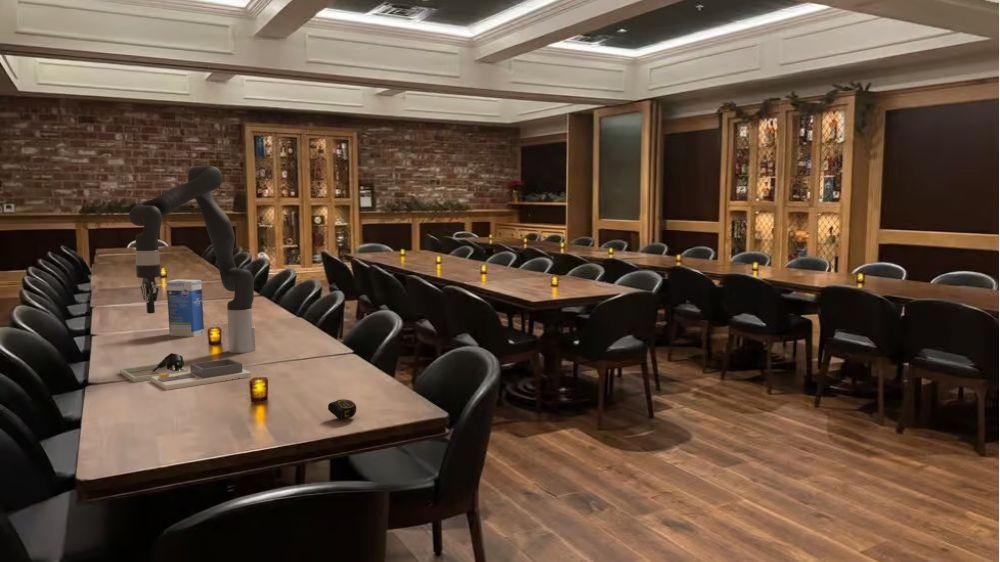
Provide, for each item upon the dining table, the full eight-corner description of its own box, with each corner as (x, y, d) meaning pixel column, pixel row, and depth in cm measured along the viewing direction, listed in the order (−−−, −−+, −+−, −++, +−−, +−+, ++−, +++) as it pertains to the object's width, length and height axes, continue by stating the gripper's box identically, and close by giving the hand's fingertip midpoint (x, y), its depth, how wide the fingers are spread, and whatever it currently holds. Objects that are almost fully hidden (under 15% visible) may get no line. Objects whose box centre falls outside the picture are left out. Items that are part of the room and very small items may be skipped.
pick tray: (172, 366, 270) (171, 362, 270) (188, 374, 257) (188, 370, 257) (119, 373, 259) (119, 369, 259) (133, 382, 246) (133, 377, 245)
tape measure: (326, 412, 205) (327, 400, 204) (348, 409, 209) (349, 397, 209) (337, 423, 200) (338, 410, 199) (359, 419, 204) (360, 406, 203)
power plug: (158, 371, 263) (185, 353, 262) (162, 388, 259) (189, 369, 258) (146, 366, 259) (173, 347, 258) (150, 383, 254) (177, 364, 253)
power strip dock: (233, 368, 265) (233, 356, 265) (251, 376, 253) (250, 363, 253) (151, 381, 247) (150, 368, 247) (166, 390, 235) (165, 376, 235)
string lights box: (204, 336, 332) (202, 279, 329) (193, 339, 324) (191, 281, 322) (180, 335, 335) (177, 279, 333) (168, 338, 328) (165, 280, 325)
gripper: (165, 264, 251) (168, 314, 253) (153, 261, 261) (156, 310, 263) (142, 265, 246) (144, 316, 248) (130, 263, 256) (133, 312, 258)
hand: (150, 313), depth 256 cm, fingers closed
